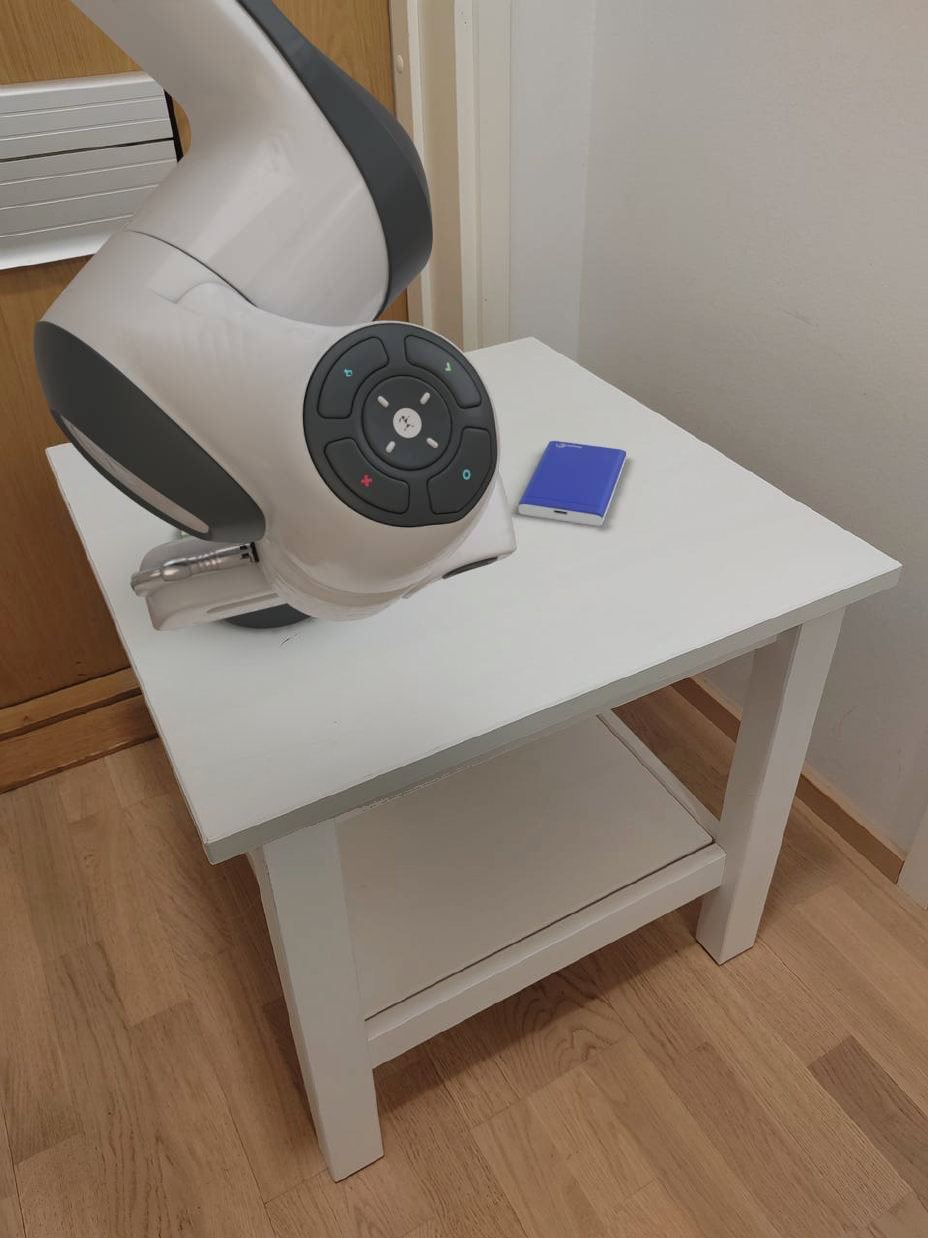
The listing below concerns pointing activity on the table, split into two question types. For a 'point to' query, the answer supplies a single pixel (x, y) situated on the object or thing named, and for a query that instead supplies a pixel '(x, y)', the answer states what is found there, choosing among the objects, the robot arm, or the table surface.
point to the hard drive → (573, 483)
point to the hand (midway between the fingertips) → (314, 578)
